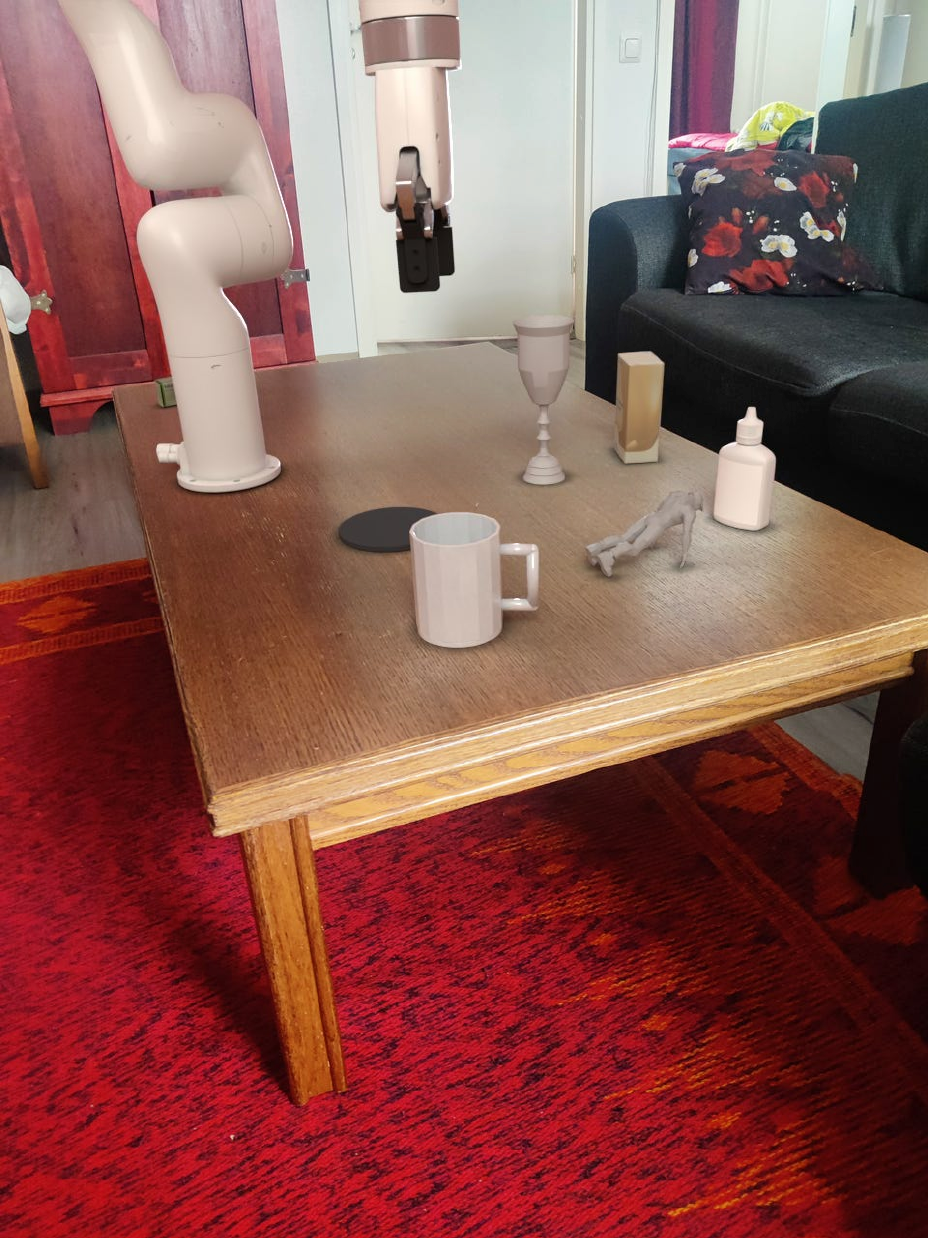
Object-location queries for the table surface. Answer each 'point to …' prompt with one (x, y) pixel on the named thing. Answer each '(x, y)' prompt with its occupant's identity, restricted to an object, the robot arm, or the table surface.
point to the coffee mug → (464, 578)
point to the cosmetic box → (638, 407)
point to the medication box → (165, 392)
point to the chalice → (543, 381)
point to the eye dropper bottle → (745, 478)
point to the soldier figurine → (650, 530)
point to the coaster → (382, 528)
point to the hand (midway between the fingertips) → (429, 283)
